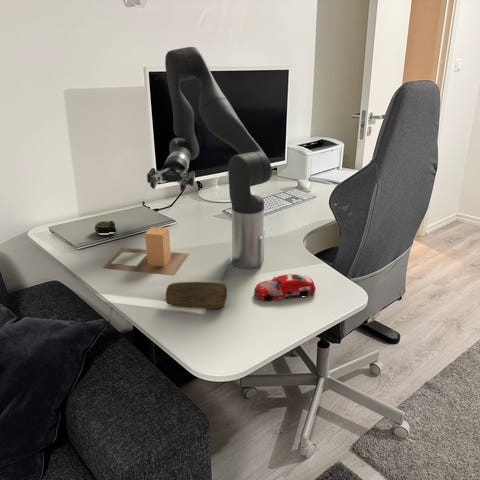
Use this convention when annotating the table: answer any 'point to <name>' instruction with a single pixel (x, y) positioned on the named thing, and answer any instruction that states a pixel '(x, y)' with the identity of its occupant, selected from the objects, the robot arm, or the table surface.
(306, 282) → the race car
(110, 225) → the tape measure
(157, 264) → the tall wooden pillar
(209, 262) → the table surface
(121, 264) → the board
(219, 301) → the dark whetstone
